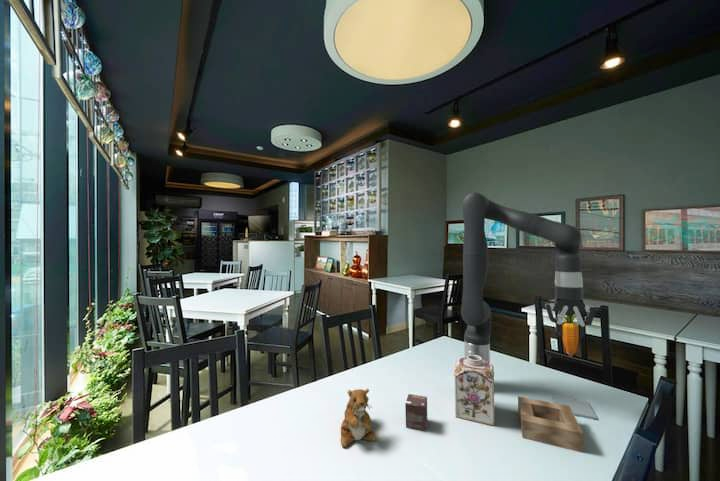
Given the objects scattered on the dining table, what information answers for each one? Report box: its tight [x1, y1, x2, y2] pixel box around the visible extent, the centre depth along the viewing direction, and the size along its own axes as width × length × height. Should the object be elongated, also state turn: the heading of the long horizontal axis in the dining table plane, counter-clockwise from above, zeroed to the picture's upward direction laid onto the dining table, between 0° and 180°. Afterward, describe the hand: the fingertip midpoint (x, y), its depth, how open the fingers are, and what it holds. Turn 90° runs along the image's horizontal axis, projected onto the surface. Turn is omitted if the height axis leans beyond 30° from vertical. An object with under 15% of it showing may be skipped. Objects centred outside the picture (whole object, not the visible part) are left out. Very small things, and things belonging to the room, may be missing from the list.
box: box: [404, 393, 428, 432], centre depth 87 cm, size 6×6×7 cm
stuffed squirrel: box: [340, 388, 377, 448], centre depth 84 cm, size 10×14×13 cm
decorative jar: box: [453, 355, 496, 426], centre depth 93 cm, size 12×12×18 cm
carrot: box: [561, 314, 579, 358], centre depth 94 cm, size 5×5×15 cm
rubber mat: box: [552, 395, 598, 421], centre depth 95 cm, size 10×10×1 cm
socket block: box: [517, 395, 584, 453], centre depth 84 cm, size 14×14×5 cm
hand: (570, 335), depth 94 cm, fingers closed on carrot, 5 cm apart
